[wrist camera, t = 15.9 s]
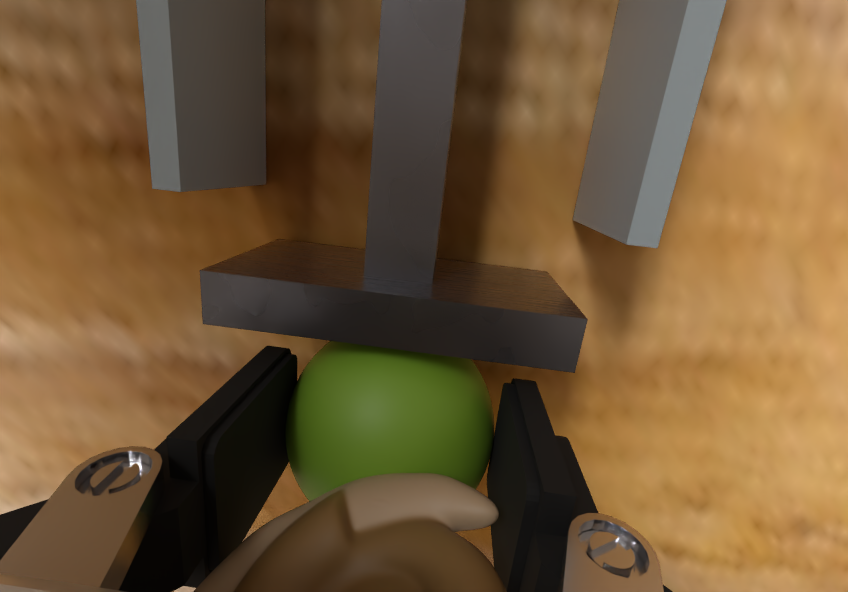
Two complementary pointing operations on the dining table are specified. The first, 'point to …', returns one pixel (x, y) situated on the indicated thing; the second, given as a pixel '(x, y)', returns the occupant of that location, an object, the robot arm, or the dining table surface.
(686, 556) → the dining table surface
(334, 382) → the snail figurine
